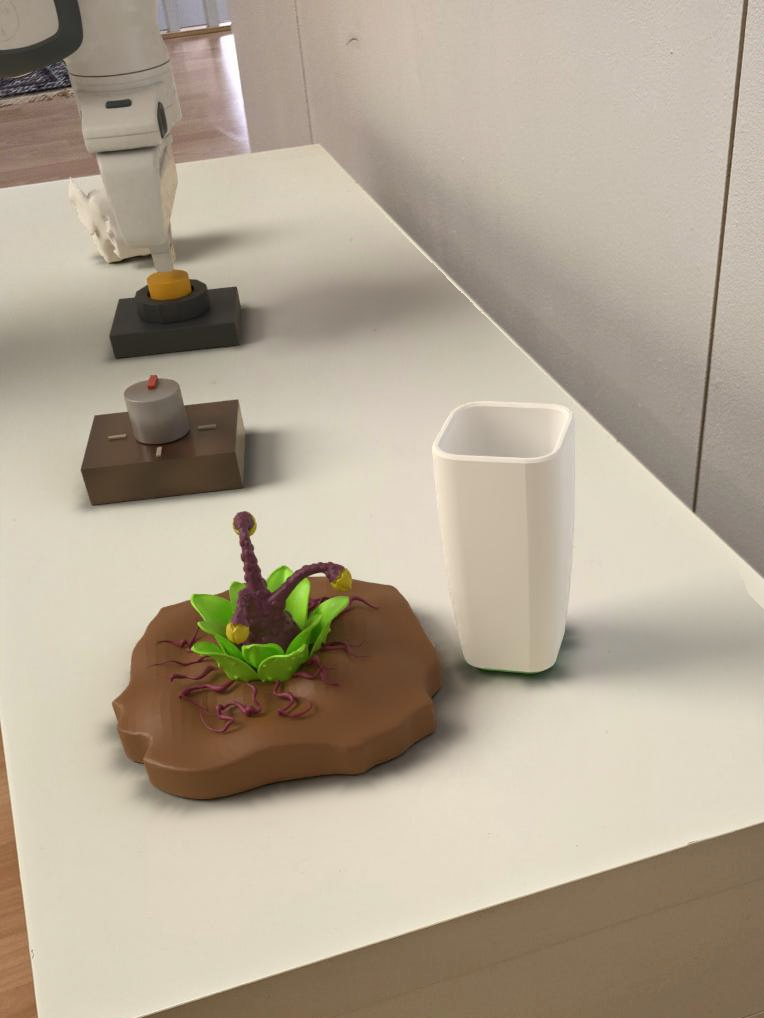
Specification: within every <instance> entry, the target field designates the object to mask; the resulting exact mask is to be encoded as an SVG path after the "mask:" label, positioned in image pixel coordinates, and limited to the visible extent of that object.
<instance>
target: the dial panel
mask: <svg viewBox="0 0 764 1018" xmlns="http://www.w3.org/2000/svg"><path fill="white" fill-rule="evenodd" d="M184 406H185V410H186V415H187V419H188V423H189V431H188V433H187V434H186V435H185V436H183V437H182V438H180V439H178V440H175V441H172V442H168V443H164V444H145V443H141V442H139V441H138V440H136V438H135V436H134V432H133V429H132V425H131V421H130V417H129V414H128V411H121V412H112V413H103V414H95V415H93V419H92V424H91V427H90V431H89V435H88V439H87V443H86V448H85V451H84V455H83V459H82V464H81V467H80V473H81V476H82V480H83V483H84V486H85V490H86V492H87V496H88V498H89V502H90V505H91V506H97V505H104V504H113V503H123V502H129V501H130V502H131V501H140V500H147V499H149V500H150V499H156V498H165V497H166V498H167V497H173V496H182V495H192V494H199V493H201V494H202V493H210V492H219V491H226V490H235V489H243V488H244V473H245V472H244V470H245V452H246V451H245V449H246V429H245V424H244V419H243V415H242V411H241V410H242V409H241V404H240V400H239V399H238V398H237V399H228V400H227V399H226V400H219V401H209V402H202V403H192V404H184Z"/></svg>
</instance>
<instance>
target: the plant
mask: <svg viewBox="0 0 764 1018" xmlns="http://www.w3.org/2000/svg"><path fill="white" fill-rule="evenodd" d="M256 520H257V519H256V517H255V516H254V515H253V514H252V513H251V512H249V511H246V510H243V511H239V512H237V513H236V514H235V515H234V517H233V518H232V523H231V524H232V529H233V531H234V533H235V534H236V535H237V536H238V538H239V541H238V543H239V547H240V548H241V553H240V560H241V562H243V567H242V570H243V572H244V575H243V580H244V582H243V583H242V582H239V581H237V580H235V581H231V583H230V585H229V589H227V590H224V591H222V592H220V593H216V594H211V593H210V594H209V593H192V594H191V596H190V599H187V600H185V601H184V600H183V601H182V602H178V603H175V604H171V605H170V604H169V605H166V606H163V607H161V608H160V609H159V611H158V613H157V614H156V615H155V616H154V617H153V619H152V620H151V621H150V622H149V623H148V625H147V627H146V628H145V631H144V633H143V635H142V636H141V637H140V639H139V640H137V642H136V643H135V646H134V648H133V650H132V653H131V657H130V670H129V671H130V672H129V683H128V684H127V686H126V688H125V689H124V690H123V692H121V694H119V695H118V696H117V697H115V698H114V699H113V700H112V701H111V706H112V709H113V713H114V715H115V718H116V721H117V724H116V730H117V734H118V737H119V739H120V741H121V746H122V748H123V750H124V754H125V756H126V757H127V759H129V760H130V761H133V762H136V763H141V764H143V765H144V768H145V772H146V773H147V776H148V780H149V782H150V784H151V785H152V787H154V788H156V789H158V790H161V791H163V792H165V793H167V794H171V795H174V796H178V797H182V798H186V799H194V800H210V799H216V798H218V799H219V798H222V797H223V798H224V797H228V796H232V795H235V794H240V793H242V792H246V791H249V790H252V789H255V788H259V787H262V786H265V785H268V784H273V783H279V782H284V781H290V780H297V779H304V778H313V777H317V776H318V777H319V776H326V775H359V774H364V773H365V772H367V771H368V770H370V769H372V768H374V767H375V766H377V765H379V764H382V763H385V762H388V761H390V760H393V759H395V758H397V757H399V756H401V755H402V754H404V753H405V752H406V751H407V750H408V749H410V747H412V746H413V745H414V744H415V743H417V742H419V741H420V740H422V739H424V738H426V737H427V736H429V735H432V734H433V733H435V731H436V730H437V724H436V723H437V722H436V717H435V716H436V715H435V708H434V702H433V700H432V698H433V696H434V695H435V694H436V693H437V692H438V691H439V690H440V689H441V688H442V685H443V670H442V662H441V657H440V654H439V651H438V649H437V648H436V647H435V645H434V644H433V642H432V641H431V640H430V638H429V635H428V634H427V632H426V631H425V629H424V627H423V626H422V623H421V621H420V620H419V619H418V617H417V614H416V613H415V612H414V610H413V608H412V606H411V604H410V603H409V601H408V600H407V599H406V598H405V596H404V595H403V594H402V593H401V592H400V591H399V590H398V589H397V588H396V587H395V586H394V585H391V584H384V583H377V582H371V581H365V580H360V579H355V578H353V576H352V573H351V571H350V570H349V569H348V568H347V567H345V566H344V565H342V564H339V563H336V562H335V563H334V562H333V561H327V562H322V561H318V562H317V563H315V562H314V563H311V564H304V565H303V566H302V567H301V568H299V569H296V570H294V572H293V570H292V569H291V568H290V567H289V566H287V565H285V564H282V565H280V566H279V567H277V568H275V569H274V570H273V571H272V572H270V574H269V575H268V576H267V579H266V578H264V577H263V575H262V568H261V567H260V565H259V564H258V563H259V560H258V557H257V555H256V554H255V546H254V544H253V543H252V540H251V537H252V536H253V535H254V534H255V533H256V531H257V528H258V524H257V522H256ZM316 574H324V576H323V575H322V576H321V575H319V576H314V575H316ZM312 575H313V576H312Z"/></svg>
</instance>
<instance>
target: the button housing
mask: <svg viewBox="0 0 764 1018" xmlns="http://www.w3.org/2000/svg"><path fill="white" fill-rule="evenodd" d="M189 281H190V285H191V290H192V292H191V293H190V294H188V295H186V296H183V297H180V298H176V299H170V300H155V299H151V296H150V292H149V288H148V284H146V285H145V286H143V287H141V288H140V289H138V290H136V291H135V295H134V297H124V298H119V299H118V301H117V305H116V309H115V313H114V316H113V321H112V324H111V327H110V332H109V335H108V337H109V341H110V345H111V348H112V352H113V356H114V358H115V359H124V358H133V357H140V356H149V355H157V354H160V355H161V354H168V353H177V352H178V353H179V352H185V351H195V350H204V349H213V348H223V347H231V346H239V345H240V332H241V331H240V330H241V316H242V315H241V313H242V306H241V300H240V295H239V289H238V286H235V285H234V286H227V287H218V288H208V285H207V284H206V283H204V282H203V281H201V280H199V279H196V278H195V279H194V278H189Z"/></svg>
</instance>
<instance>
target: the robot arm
mask: <svg viewBox="0 0 764 1018" xmlns="http://www.w3.org/2000/svg"><path fill="white" fill-rule="evenodd" d="M158 3H159V1H158V0H0V79H18V78H21V77H24V76H27V75H29V74H31V73H33V72H36V71H38V70H41V69H44V68H46V67H49V66H52V65H54V64H57V63H59V62H61V61H63V62H64V63H65V65H66V69H67V73H68V77H69V80H70V81H69V82H70V85H71V88H72V92H73V96H74V100H75V103H76V107H77V111H78V115H79V119H80V125H81V126H80V127H81V133H82V137H83V141H84V145H85V148H86V151H87V152H88V153H91V154H93V153H96V155H95V157H96V162H97V166H98V171H99V174H100V177H101V181H102V183H103V188H104V187H105V190H106V193H107V196H108V199H109V203H110V206H111V209H112V212H113V215H114V218H115V221H116V224H117V227H118V229H119V232H120V234H121V236H122V238H123V240H124V242H125V244H126V245H127V247H129V248H144V247H148V248H149V250H150V252H151V254H150V255H151V258H152V262H153V265H154V270H155V271H156V272H159V273H163V272H171V271H173V269H175V262H176V252H175V247H174V243H173V234H172V233H173V232H172V223H171V217H172V212H173V207H174V202H175V198H176V193H177V189H178V184H179V180H178V179H179V178H178V171H177V166H176V161H175V157H174V153H173V149H172V143H173V140H174V139H173V134H172V128H173V127H174V126H176V125H177V124H179V123H180V122H181V121H182V119H183V114H182V110H181V104H180V99H179V95H178V91H177V85H176V80H175V75H174V70H173V66H172V62H171V61H172V60H171V56H170V52H169V49H168V47H167V45H166V43H165V41H164V39H163V36H162V33H161V30H160V26H159V25H160V24H159V20H158Z"/></svg>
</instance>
